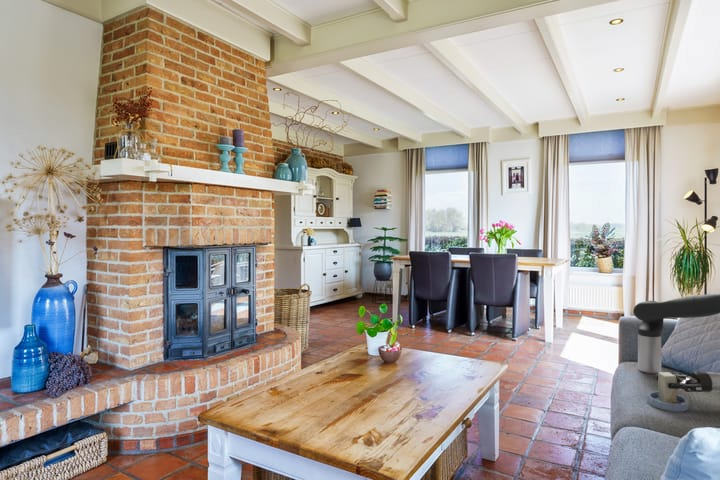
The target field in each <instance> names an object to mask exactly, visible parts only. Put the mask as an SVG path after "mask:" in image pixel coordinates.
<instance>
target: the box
mask: <svg viewBox="0 0 720 480" xmlns="http://www.w3.org/2000/svg"><path fill="white" fill-rule="evenodd" d="M669 372H670V371H669ZM669 372H668V371H665V372H664V371H661V372H658V373H657V374H658V380H657V382H658V383H657V386H658V387H657V388H658V390H657V391H659V400H660V401H662V402H665V403H671V404H677V395H676V394H677V389H669V388H668V383H669V382H671V383H676V381H677V379H676V376H675V375H673V374H671V373H669Z"/></svg>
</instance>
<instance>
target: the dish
mask: <svg viewBox="0 0 720 480" xmlns="http://www.w3.org/2000/svg"><path fill="white" fill-rule="evenodd" d="M676 395H677V404H671V403H665V402H662V401H660V400H659V391H658V390H653V391H649V392H647V396H646V400H647V403H648V404H649V405H650V406H653V407H655V408H658V409H660V410H665V411H669V412H684V411H688V410H689V399H688V398H686V397H685V396H683V395H680V394H677V393H676Z"/></svg>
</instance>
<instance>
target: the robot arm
mask: <svg viewBox="0 0 720 480" xmlns="http://www.w3.org/2000/svg"><path fill="white" fill-rule="evenodd" d="M632 312H633V314H634V317H635V318H636V319H637V320H639V321H641V324H640V325H639V326H638V328H637V369H638V370H639V371H640V372H643V373H647V374H655V380H656V381H658V372H662V331H663V328H664V320H665V319H689V318H691V319H692V318H704V317H711V316H715V315H718V314H720V293H709V294H697V295H688V296H682V297H677V298H673V299H670V300H666V301H656V300H646V301H641V302H638V303H637V304H636V305H635V306H634V308H633V311H632ZM669 373H671V374H673V375H675V376H676V383H671V382H669V383H668V388H669V389H676V390H681V391H684V392H685V393H720V372H715V371H692V372H690V373H689V374H688V375H686V374H682V372H677V371H675V372H673V371H672V372H670V371H669Z"/></svg>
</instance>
